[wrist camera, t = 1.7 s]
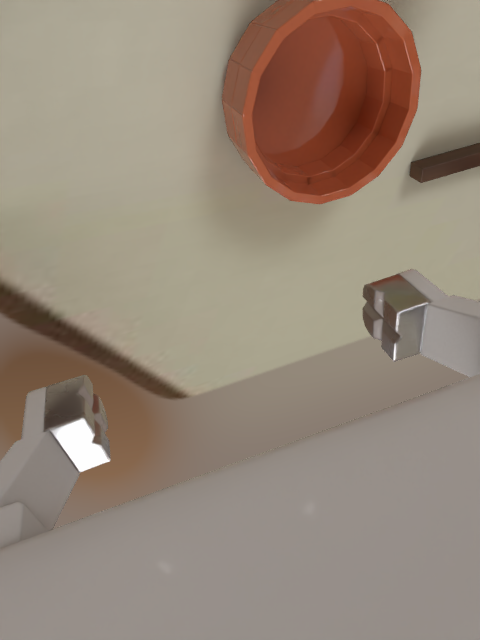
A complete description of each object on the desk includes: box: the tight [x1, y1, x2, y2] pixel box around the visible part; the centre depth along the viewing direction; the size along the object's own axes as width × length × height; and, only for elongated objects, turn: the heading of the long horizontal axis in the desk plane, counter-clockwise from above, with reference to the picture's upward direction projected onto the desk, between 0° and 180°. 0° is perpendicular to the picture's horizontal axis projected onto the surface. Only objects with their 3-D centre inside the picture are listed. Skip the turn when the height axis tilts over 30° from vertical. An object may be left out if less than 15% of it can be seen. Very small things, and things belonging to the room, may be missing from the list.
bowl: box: [222, 0, 421, 204], centre depth 28 cm, size 11×11×5 cm
